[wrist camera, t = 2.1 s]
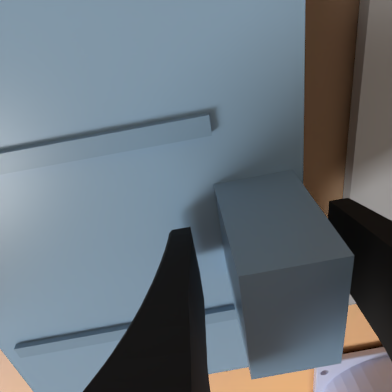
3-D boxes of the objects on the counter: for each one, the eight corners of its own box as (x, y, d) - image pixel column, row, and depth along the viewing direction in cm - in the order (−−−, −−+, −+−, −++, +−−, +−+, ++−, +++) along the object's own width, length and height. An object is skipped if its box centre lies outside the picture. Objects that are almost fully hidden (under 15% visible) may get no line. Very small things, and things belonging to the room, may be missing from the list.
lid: (293, 337, 17) (338, 457, 13) (49, 381, 17) (11, 515, 13) (289, -77, 8) (432, -147, 4) (-208, 17, 8) (-604, 48, 4)
